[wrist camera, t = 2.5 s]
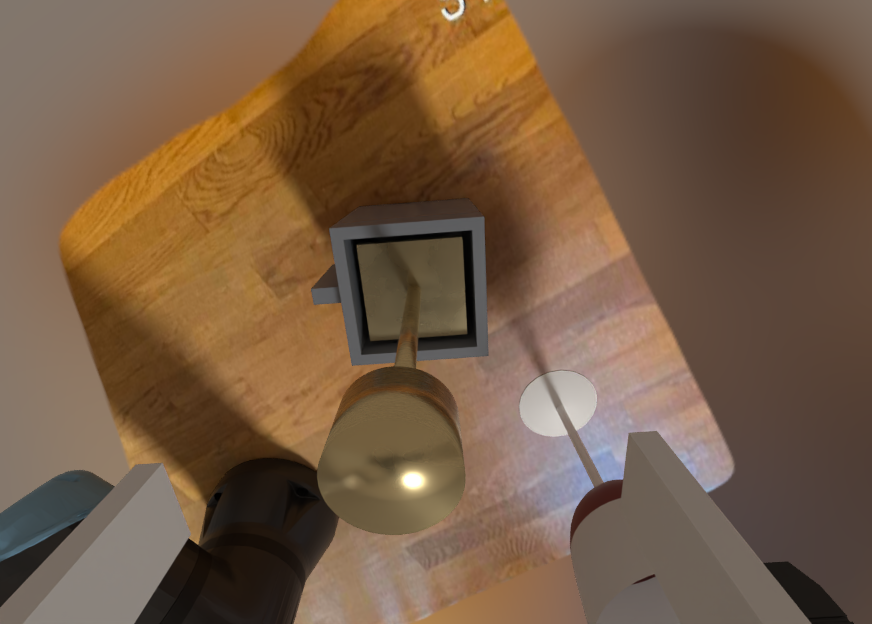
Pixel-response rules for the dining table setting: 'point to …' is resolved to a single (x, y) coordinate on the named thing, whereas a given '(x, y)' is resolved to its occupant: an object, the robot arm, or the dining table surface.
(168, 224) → the dining table surface
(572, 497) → the dining table surface
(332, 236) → the press pot
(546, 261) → the dining table surface
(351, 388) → the plunger
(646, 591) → the wineglass
